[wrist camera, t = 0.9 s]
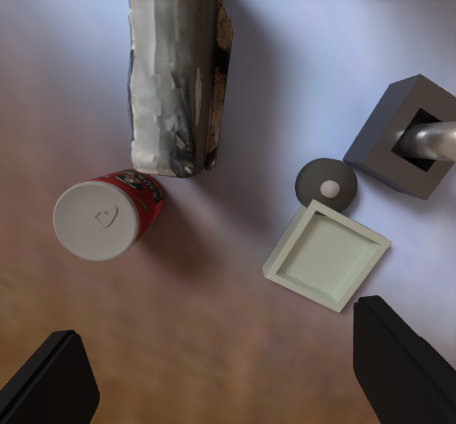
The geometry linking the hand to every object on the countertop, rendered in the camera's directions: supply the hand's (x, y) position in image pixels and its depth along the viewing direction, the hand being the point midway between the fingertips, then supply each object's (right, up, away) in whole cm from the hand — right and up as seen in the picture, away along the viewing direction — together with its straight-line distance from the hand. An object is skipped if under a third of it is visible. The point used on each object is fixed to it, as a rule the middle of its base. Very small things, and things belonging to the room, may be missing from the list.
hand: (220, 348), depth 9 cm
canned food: (-12, +7, +26) cm, 29 cm away
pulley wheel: (+13, +8, +25) cm, 29 cm away
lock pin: (+21, +13, +23) cm, 34 cm away
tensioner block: (+21, +14, +24) cm, 35 cm away
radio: (-4, +21, +22) cm, 31 cm away
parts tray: (+13, -1, +28) cm, 31 cm away
